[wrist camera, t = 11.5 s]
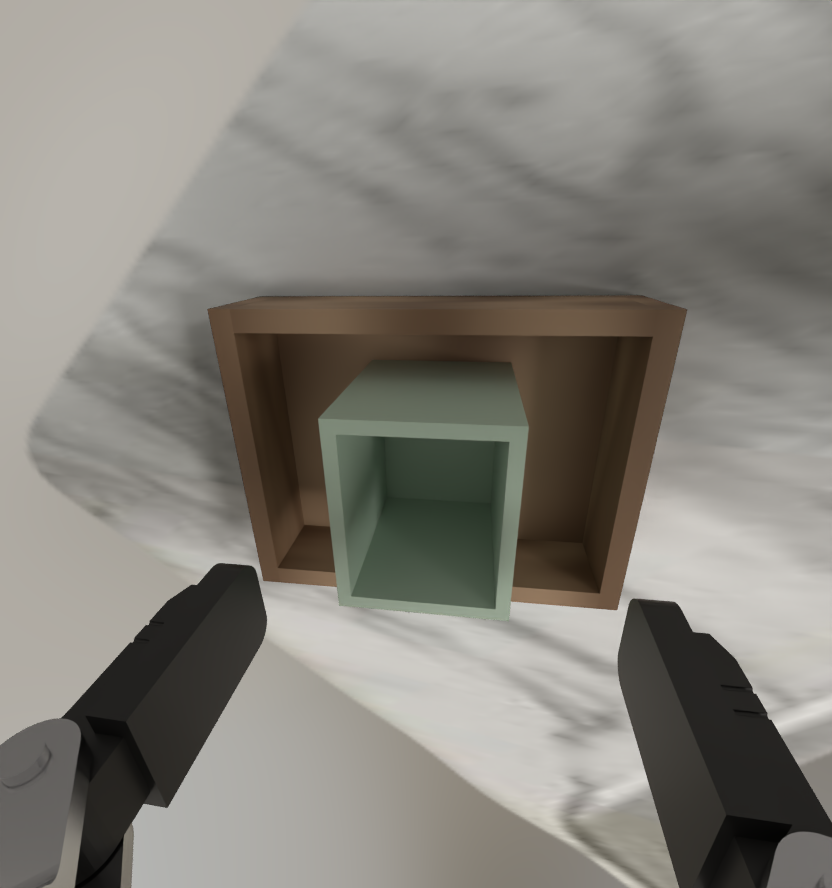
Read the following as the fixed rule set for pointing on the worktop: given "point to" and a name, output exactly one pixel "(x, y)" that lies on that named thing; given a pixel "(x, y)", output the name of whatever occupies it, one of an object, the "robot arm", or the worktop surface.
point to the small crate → (426, 486)
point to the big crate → (465, 340)
